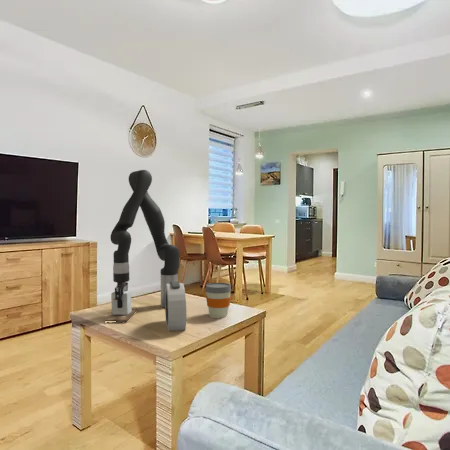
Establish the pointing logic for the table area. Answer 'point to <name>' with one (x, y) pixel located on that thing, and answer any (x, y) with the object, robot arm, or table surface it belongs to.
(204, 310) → the table surface
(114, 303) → the small box
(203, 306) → the table surface
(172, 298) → the alarm clock
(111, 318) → the walnut board
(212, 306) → the reusable coffee cup
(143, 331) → the table surface
